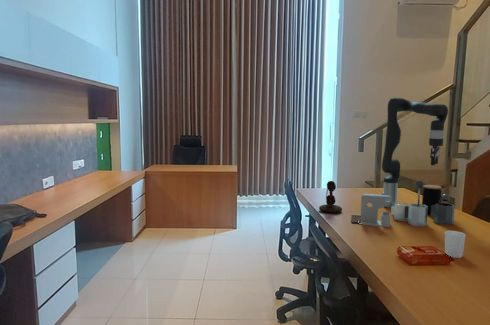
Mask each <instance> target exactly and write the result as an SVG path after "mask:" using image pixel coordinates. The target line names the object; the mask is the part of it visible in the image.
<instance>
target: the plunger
mask: <svg viewBox="0 0 490 325" xmlns="http://www.w3.org/2000/svg"><path fill="white" fill-rule="evenodd" d="M414 184H415V187H416V188H418V190H417V191H418V193H417V203H416V204H417V206H415V207H421V206H419V204H420V203H421V202H420V200H421V189H422V188H424V187H423V186H424V185H425V183H424V181H423V180H421V179H420V180H419V179H418V180H417V181H415V183H414Z"/></svg>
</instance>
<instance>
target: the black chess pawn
mask: <svg viewBox="0 0 490 325" xmlns="http://www.w3.org/2000/svg"><path fill="white" fill-rule="evenodd" d="M326 188H327V189H326V195H325V202H326V204H322V205H320V206H318V209H319V211H321V212H322V214H324V213H325V212H326V213H336V214H337V215H338V214H339V213H340V212H343V208H342V207H341V206H340V205H337V204H336V198H335V195H334V193H333V192H334V191H335V190H336V188H337V186H336V183H335V182H334V181H333V180H330V181H328V182H327V183H326ZM328 191H329V192H328ZM328 193H329V194H328Z"/></svg>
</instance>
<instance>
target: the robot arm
mask: <svg viewBox="0 0 490 325" xmlns="http://www.w3.org/2000/svg"><path fill="white" fill-rule="evenodd" d="M398 112H399V113H400V112H413V113H416V114H420V115H427V116H432V117H435V119H433V120H432V121H431V123H430V129H429V130H430V131H429V138H428V145H429V146H431V148H430V156H429V158H430V165H431V166H436V165H438V164H439V157H440V150H441V147H443V146H444V138H445V135H444V134H445V133H444V130H445V128H444V127H445V123H446V119H447V118H448V113H449V109H448V106H447V105H446V104H442V103H441V104H438V103H437V104H436V103H430V102H424V101H423V102H420V101H412V100H408V99H405V98H402V97H392V98H390V99H389V100H388V103H387V124H386V133H385V144H384V152H383V156H382V157H383V158H382V160H381V168H382V169H381V171H382V172H384V173H385V174H387V173H388V175H387V176H385V177H383V187H382V188H383V191H382V192H381V195H389V196H391V197H392V203H391V204H389V205H386V206H384V207H383V208H390V209H391V206H393V207H395V204H396V203H398V190H399V189H398V185H399V179H400V175H401V163H400V161H399V160H398V159H393V154H394V153H395V150H396V148H398V146H399V144H400V142H401V136H402V130H401V129H402V128H401V127H400V124H399V122H398ZM385 201H390V198H386V199H385Z"/></svg>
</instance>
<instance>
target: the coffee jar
mask: <svg viewBox="0 0 490 325" xmlns="http://www.w3.org/2000/svg"><path fill="white" fill-rule="evenodd" d="M422 188H423V189H422V198H421V200H422V201H421V204H423V205H426V206H428V214H427V216H431V205H435V204H436V203H442V199H441V196H442V188H443V187H442V186H440V185H437V184H436V185H435V184H424V186H423V187H422Z"/></svg>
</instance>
